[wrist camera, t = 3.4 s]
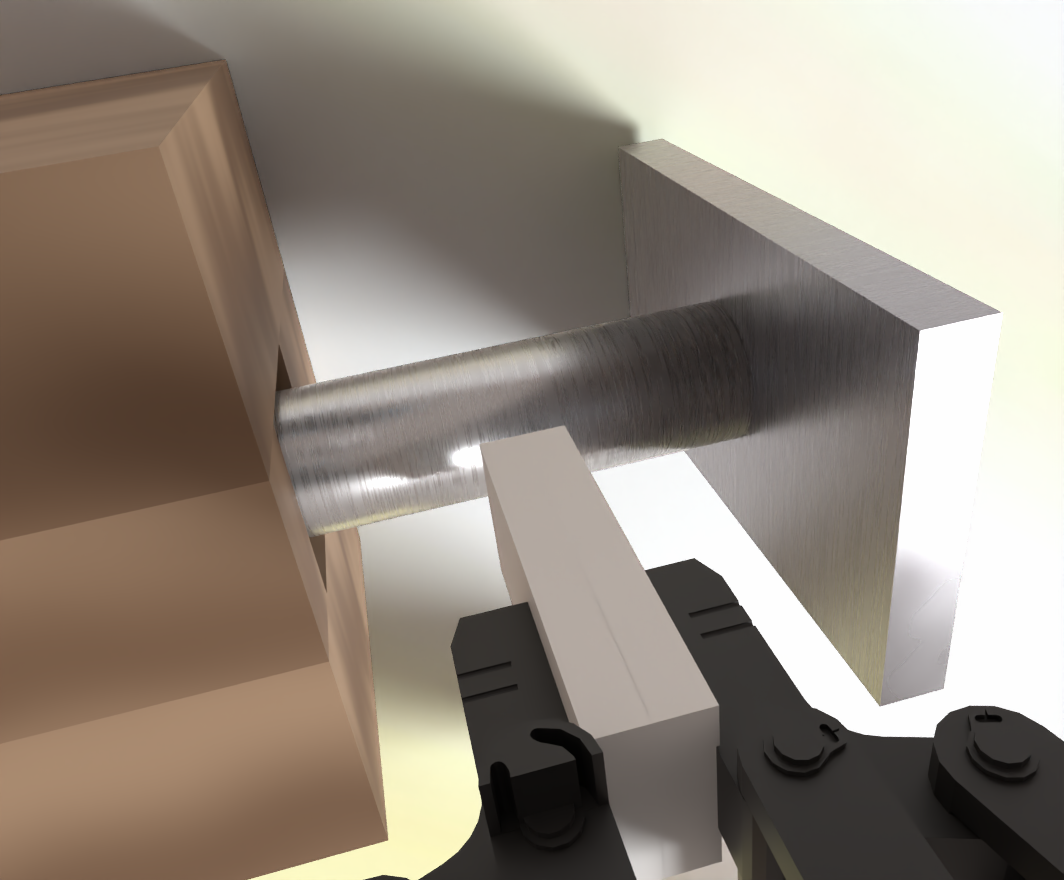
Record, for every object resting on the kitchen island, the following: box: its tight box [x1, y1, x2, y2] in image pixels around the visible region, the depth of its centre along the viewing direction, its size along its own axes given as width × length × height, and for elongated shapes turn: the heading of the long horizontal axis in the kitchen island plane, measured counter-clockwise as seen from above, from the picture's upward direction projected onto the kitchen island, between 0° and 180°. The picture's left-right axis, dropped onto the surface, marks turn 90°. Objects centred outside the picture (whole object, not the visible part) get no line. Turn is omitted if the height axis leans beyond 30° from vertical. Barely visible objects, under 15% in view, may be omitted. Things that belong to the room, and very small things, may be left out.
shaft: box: [273, 139, 1003, 706], centre depth 17 cm, size 7×24×13 cm, turn 97°
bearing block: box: [0, 59, 388, 880], centre depth 18 cm, size 14×8×11 cm, turn 7°
